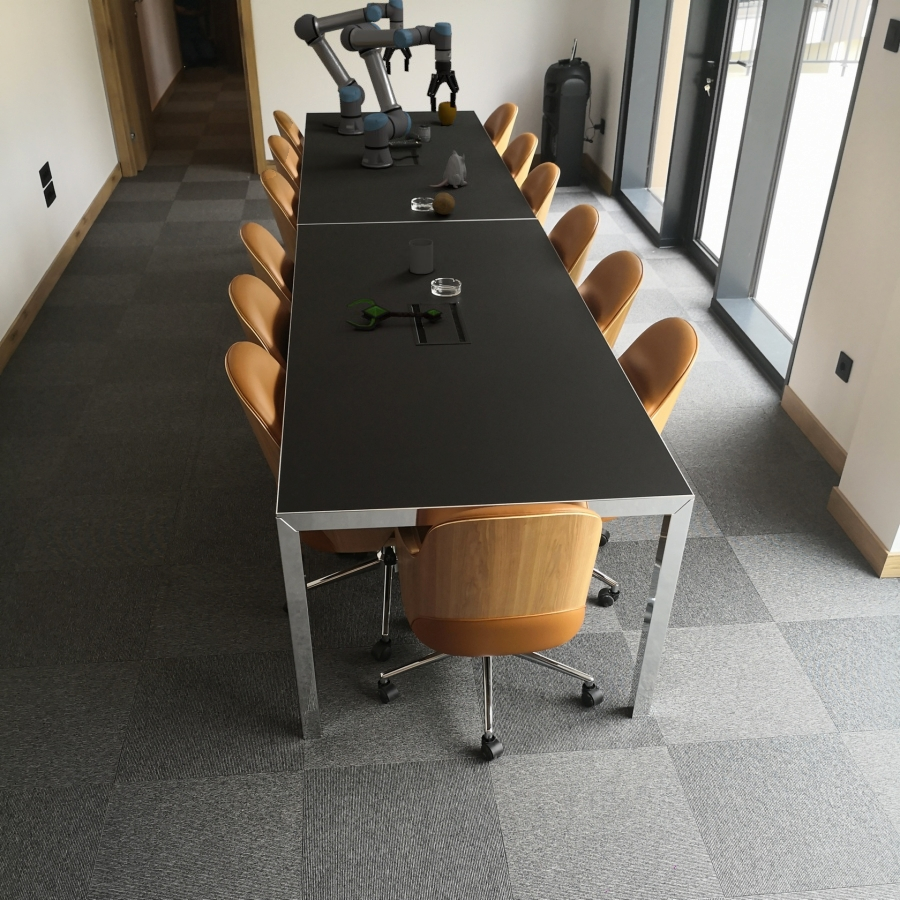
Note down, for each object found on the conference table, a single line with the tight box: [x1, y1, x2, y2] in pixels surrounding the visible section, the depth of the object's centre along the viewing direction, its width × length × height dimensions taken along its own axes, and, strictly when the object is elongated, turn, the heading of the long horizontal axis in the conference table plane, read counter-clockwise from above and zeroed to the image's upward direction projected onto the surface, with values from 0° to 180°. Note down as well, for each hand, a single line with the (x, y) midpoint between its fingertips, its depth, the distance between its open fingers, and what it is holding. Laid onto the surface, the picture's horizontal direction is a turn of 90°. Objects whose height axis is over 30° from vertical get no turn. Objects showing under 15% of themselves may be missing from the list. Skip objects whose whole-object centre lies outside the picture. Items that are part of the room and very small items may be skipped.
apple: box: [437, 100, 458, 126], centre depth 500 cm, size 11×11×13 cm
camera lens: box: [418, 124, 431, 143], centre depth 469 cm, size 6×6×8 cm
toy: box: [428, 149, 468, 189], centre depth 390 cm, size 9×24×15 cm, turn 137°
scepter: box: [345, 298, 443, 331], centre depth 269 cm, size 6×13×30 cm
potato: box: [431, 192, 456, 216], centre depth 360 cm, size 10×14×8 cm
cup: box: [408, 237, 434, 275], centre depth 305 cm, size 8×8×10 cm
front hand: (443, 109), depth 405 cm, fingers open, 13 cm apart
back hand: (397, 73), depth 481 cm, fingers open, 13 cm apart
